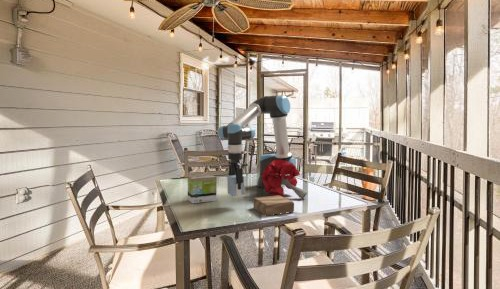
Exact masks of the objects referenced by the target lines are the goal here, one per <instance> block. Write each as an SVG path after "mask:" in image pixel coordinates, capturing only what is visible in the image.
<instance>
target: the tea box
mask: <svg viewBox="0 0 500 289" xmlns="http://www.w3.org/2000/svg"><path fill="white" fill-rule="evenodd" d="M187 200H188V201H189V202H190V203H191V204H197V203H207V202H216V201H217V176H214V175H213V174H201V175H199V174H198V175H188V176H187Z"/></svg>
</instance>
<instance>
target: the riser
mask: <svg viewBox="0 0 500 289" xmlns="http://www.w3.org/2000/svg"><path fill="white" fill-rule="evenodd" d="M253 209H255V210H256V211H258V213H260V214H262V215H264V216H265V215H266V216H265V217H269V216H268V215H272V216H274V215H273V214H279V215H281V214H280V213H286V212H293V211H294V212H295V202H294V201H292V200H290V199H288V198H286V197H284V196H283V197H282V196H280V195H276V196H274V195H269V196H260V197H253Z"/></svg>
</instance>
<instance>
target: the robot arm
mask: <svg viewBox="0 0 500 289" xmlns="http://www.w3.org/2000/svg"><path fill="white" fill-rule="evenodd" d="M290 111H291V102H290V99H289V98H288V97H287V96H285V95H280V94H278V95H264V96H262V97H259V98H258V99H255V100H254V101H253V102H252V103H250V104H249V105H248V108H246V109H245V110H244V111H243V112H241V113H240V114H239V115H237V117H235V118H234V119H233V120H231V121H230V123H228V124H227V125H222V126H219V128H218V129H217V135H218V137H219V139H225V140H227V152H228V153H227V158H228V160H229V161H228V176H229V175H236V181H237V183H236V195H238V196H242V195H241V183H243V176H244V174H243V166H244V165H243V164H242V163H240V161H241V160H243V144H242V141H249V140H252V139H254V137H255V135H256V130H255V128H254V127H252V126H251V125H250V126H249V125H248V124H249V123H250V122H252V121H253V120H254V119H255V118H256V117H260V116H261V115H264V114H267V115H269V118H270V119H271V120H272V125H273V133H274V140H275V141H274V142H275V148H276V153H269V154H267V153H266V154H261V155H260V156H259V159H258V160H259V162H258V163H259V164H258V165H259V166H258V167H259V175H258V179H257V182H256V187H257V188H261V189H265V188H264V186H265V185H264V184H263V182H262V178H263V176H262V172H263V171H264V169H265V167H267V166H268V165H269V164H270V163H271V162H273V161H274V160H284V161H287V162H288V163H293V165H295V167H296V168H297V159H296V157H293V153H292V152H291V151H290V145H289V138H288V129H287V128H288V126H287V120H286V118H287V117H288V115H289V113H290Z"/></svg>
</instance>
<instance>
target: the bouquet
mask: <svg viewBox="0 0 500 289" xmlns="http://www.w3.org/2000/svg"><path fill="white" fill-rule="evenodd" d="M300 175H301V174H300V171H299V170H298V169H297V166H296V167H295V165H293V163H288V162H287V161H284V160H274V161H273V162H271V163H270V164H269V165H268V166H267V167H265V169H264V171H263V172H262V176H263V178H262V182H263V184H264V185H265V186H264V188H263V189H264V191H265V193H268V194H269V196H276V195H280V196H282V197H284V195H285V194H284V193H285V192H284V188H283V186H284V187H286V188H287V190H288V189H289V190H292V191H293V192H294V194H296V195H297V196H298V198H300V199H302V200H303V199H304V198H305V197H306V196H307V193H308V192H307V191H306V190H304V189H302V188H301V187H298V186H297V184H298V180H297V178H296V177H298V176H300ZM282 185H283V186H282Z"/></svg>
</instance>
